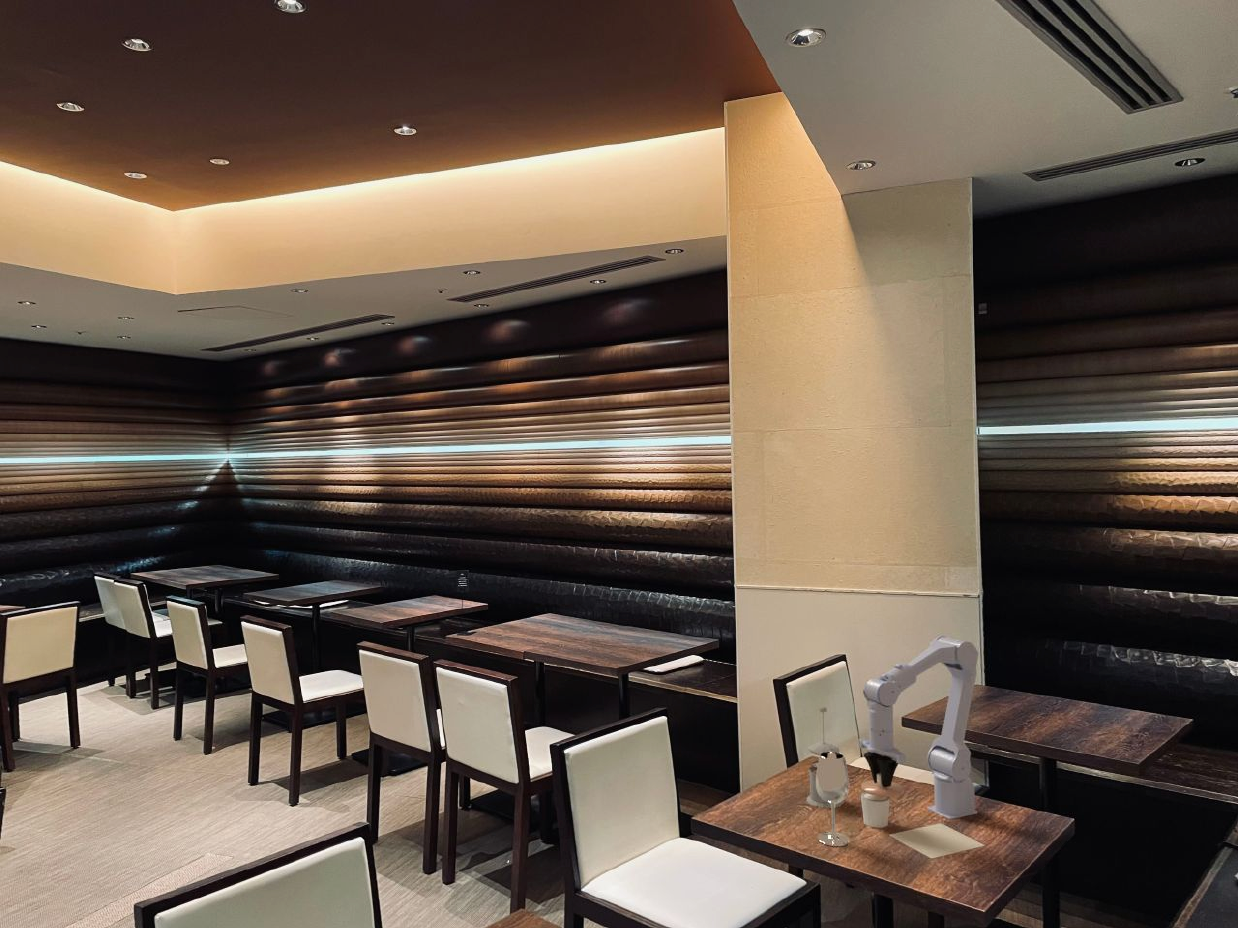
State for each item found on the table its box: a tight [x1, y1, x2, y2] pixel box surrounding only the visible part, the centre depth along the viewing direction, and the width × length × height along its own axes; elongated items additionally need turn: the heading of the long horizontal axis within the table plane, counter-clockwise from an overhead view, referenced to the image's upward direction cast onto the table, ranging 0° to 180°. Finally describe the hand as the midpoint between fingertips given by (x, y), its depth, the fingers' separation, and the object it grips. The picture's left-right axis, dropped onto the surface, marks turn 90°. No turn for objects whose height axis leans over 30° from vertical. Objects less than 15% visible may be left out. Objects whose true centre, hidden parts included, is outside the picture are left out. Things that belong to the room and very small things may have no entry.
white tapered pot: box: [860, 791, 891, 828], centre depth 208 cm, size 7×7×7 cm
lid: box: [860, 773, 905, 798], centre depth 207 cm, size 10×10×4 cm
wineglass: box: [815, 752, 851, 847], centre depth 200 cm, size 8×8×20 cm
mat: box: [888, 823, 986, 860], centre depth 198 cm, size 16×14×1 cm
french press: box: [806, 706, 847, 809], centre depth 225 cm, size 10×12×25 cm
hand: (882, 784), depth 207 cm, fingers closed on lid, 2 cm apart
